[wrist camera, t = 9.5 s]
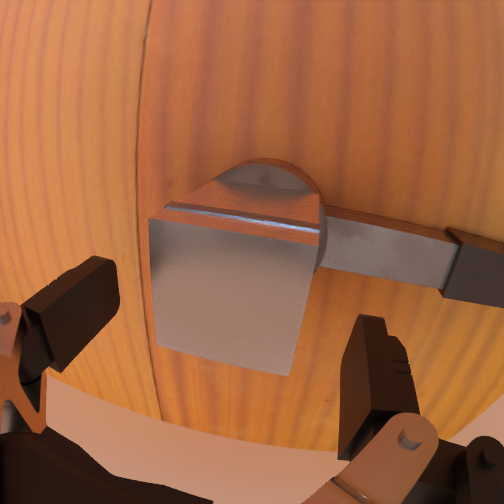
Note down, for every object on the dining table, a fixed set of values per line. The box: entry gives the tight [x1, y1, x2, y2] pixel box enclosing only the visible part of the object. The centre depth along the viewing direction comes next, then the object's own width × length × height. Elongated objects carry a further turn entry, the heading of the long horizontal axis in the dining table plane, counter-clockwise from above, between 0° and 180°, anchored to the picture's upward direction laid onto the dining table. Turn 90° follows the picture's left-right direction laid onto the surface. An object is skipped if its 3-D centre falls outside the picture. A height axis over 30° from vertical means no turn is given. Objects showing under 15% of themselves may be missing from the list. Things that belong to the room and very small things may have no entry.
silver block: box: [149, 179, 321, 376], centre depth 13 cm, size 5×5×6 cm
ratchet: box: [212, 158, 504, 308], centre depth 14 cm, size 22×7×7 cm, turn 84°
